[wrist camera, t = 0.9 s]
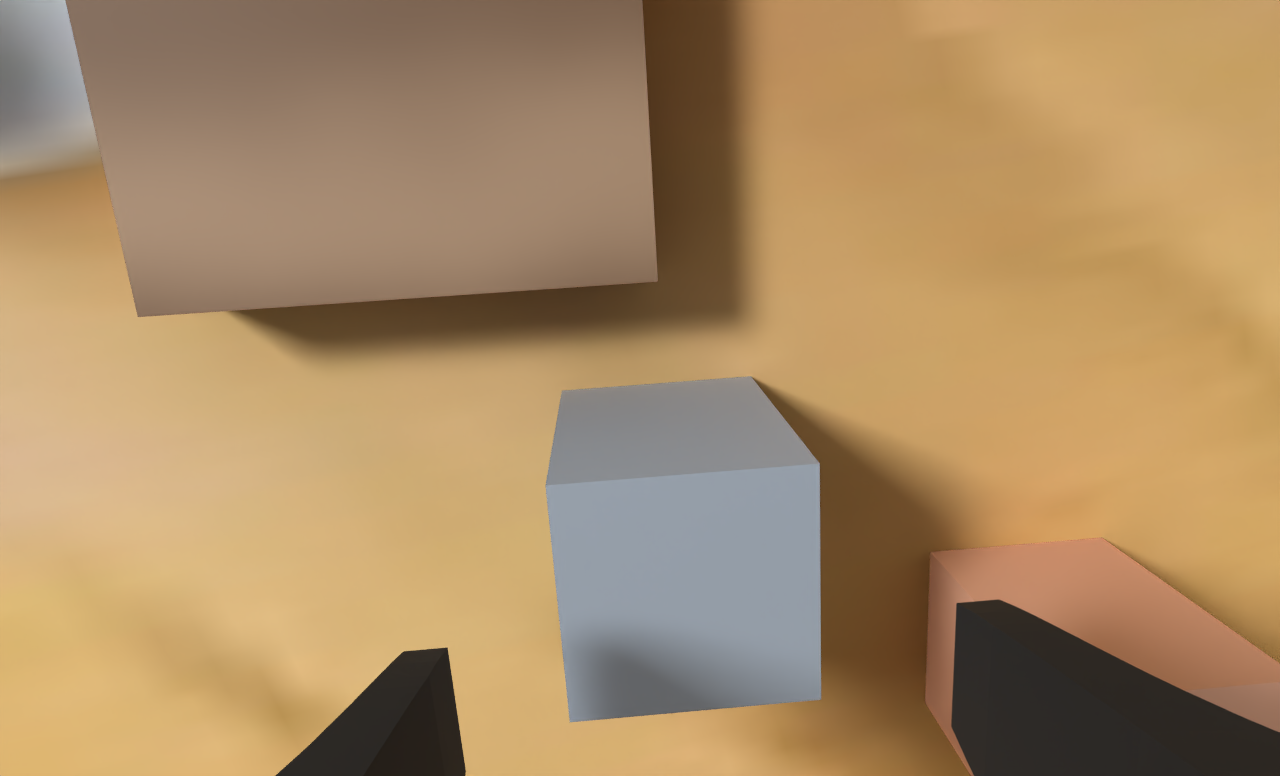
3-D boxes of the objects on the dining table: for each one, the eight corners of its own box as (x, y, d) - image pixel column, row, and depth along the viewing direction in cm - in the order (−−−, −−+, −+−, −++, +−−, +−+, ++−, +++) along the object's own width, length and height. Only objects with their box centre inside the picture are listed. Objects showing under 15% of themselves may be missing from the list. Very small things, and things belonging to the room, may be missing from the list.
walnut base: (648, 265, 18) (657, 281, 15) (212, 295, 18) (137, 317, 15) (619, -235, 16) (624, -331, 13) (109, -214, 15) (-5, -306, 12)
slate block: (755, 547, 20) (820, 699, 14) (578, 563, 20) (570, 722, 14) (750, 376, 19) (820, 463, 13) (562, 390, 18) (545, 485, 13)
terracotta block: (1086, 687, 21) (1268, 875, 16) (924, 701, 21) (1047, 897, 15) (1100, 537, 20) (1302, 679, 14) (930, 551, 20) (1064, 701, 14)
